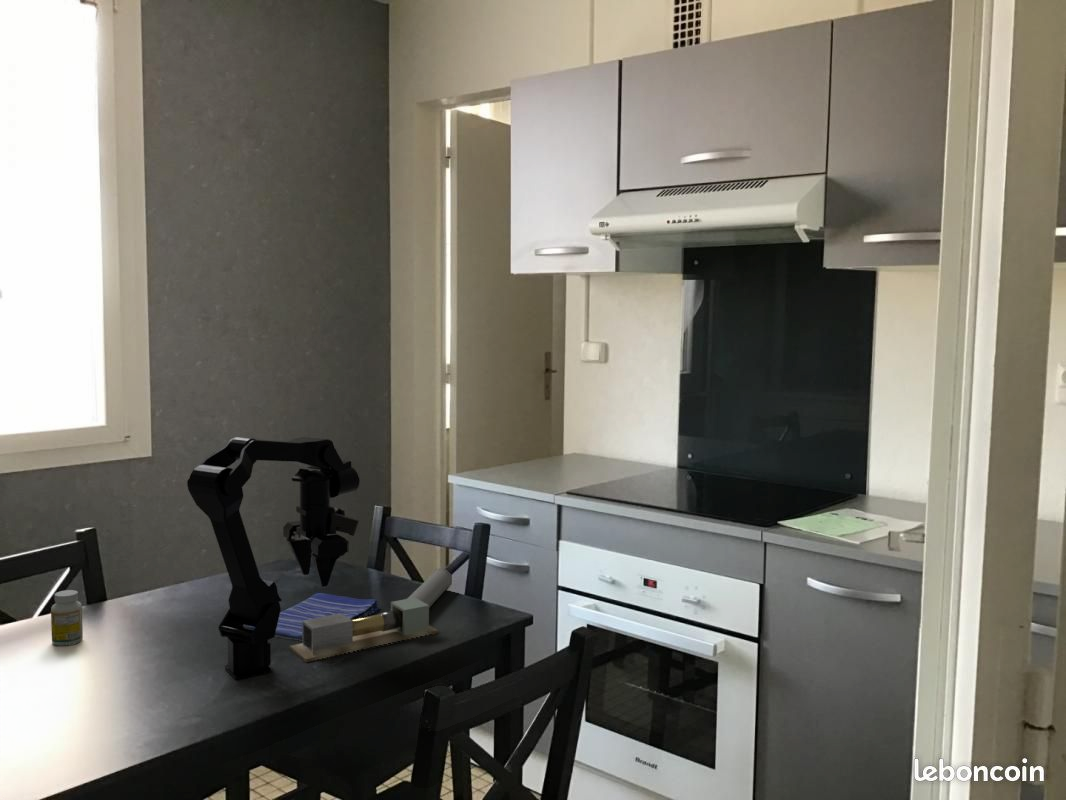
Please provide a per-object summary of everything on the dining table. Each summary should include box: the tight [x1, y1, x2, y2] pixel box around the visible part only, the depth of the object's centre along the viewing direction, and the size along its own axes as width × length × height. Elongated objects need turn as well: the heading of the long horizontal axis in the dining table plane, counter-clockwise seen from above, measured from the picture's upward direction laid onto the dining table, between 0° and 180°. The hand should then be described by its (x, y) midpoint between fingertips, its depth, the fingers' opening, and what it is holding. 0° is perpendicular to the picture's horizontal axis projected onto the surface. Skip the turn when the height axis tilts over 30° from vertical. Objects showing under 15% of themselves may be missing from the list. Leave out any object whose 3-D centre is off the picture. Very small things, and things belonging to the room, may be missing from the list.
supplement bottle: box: [50, 589, 84, 647], centre depth 173 cm, size 5×5×10 cm
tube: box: [406, 568, 453, 608], centre depth 199 cm, size 5×5×25 cm
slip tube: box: [352, 610, 403, 637], centre depth 177 cm, size 16×4×4 cm, turn 126°
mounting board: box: [289, 625, 439, 663], centre depth 177 cm, size 28×8×1 cm, turn 126°
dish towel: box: [247, 592, 380, 642], centre depth 188 cm, size 17×24×3 cm
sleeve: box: [301, 613, 353, 655], centre depth 172 cm, size 8×5×5 cm, turn 126°
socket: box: [390, 598, 430, 636], centre depth 182 cm, size 6×6×5 cm
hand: (315, 580), depth 176 cm, fingers open, 9 cm apart
